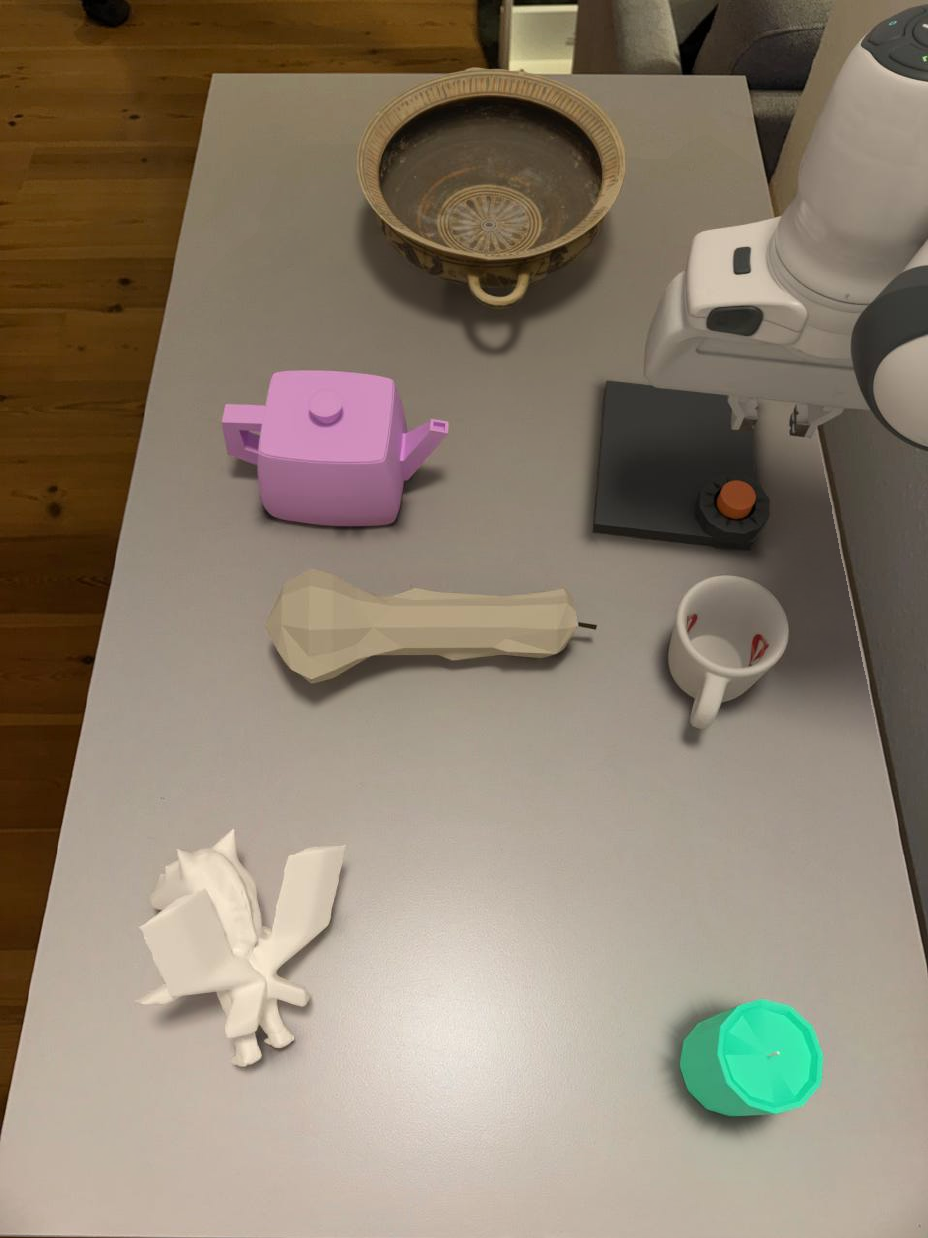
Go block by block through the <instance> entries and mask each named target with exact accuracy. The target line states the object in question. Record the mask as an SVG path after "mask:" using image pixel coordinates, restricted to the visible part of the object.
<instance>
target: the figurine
mask: <svg viewBox="0 0 928 1238" xmlns="http://www.w3.org/2000/svg"><path fill="white" fill-rule="evenodd" d="M236 842H237V841H236V834H235V828H232V829H231V830H230V831H229V832H228V833H227V834H225V835H224V836H223V837H222V838H221V839H219V840H218V841H217V842H216V843H215V844H213V845H212V846H211V847H209V848H208V847H207V848H199V849H198V850H195V851H192V853H191V852H188V851H186V850H183V849H180V848H176V854H177V860H175V861H173V862H171V863H169V864H167V865H165V866H164V873H159V877H158V881H157V884H156V887H155V888H154V890H153V891H152V893H151V895H150V896H149V903H150V906H151V907H152V908H153V909H155V910H157V911H159V910H160V912H158V913H157V914H156V915H154V916H153V917H152V918H150V919H149V920H148V921H147V922H145V923H143V924H142V925H140V926H138V930H140V931H141V932H142V934H143V938H144V942H145V943H146V946H147V947H148V949H149V951H150V953H151V956H152V961H153V963H154V964H155V966H156V967H157V970H158V974H160V977H161V978H162V979H163V983H161V984H160V985H159V986H157V987H156V988H154V989H152V990H151V991H149V992H147V993H146V994H143V995H142V996H140V997H139V998H137V999H135V1000H134V1001H133V1003H135V1004H140V1005H142V1006H153V1005H155V1006H157V1005H158V1006H163V1005H167V1004H169V1003H172V1002H174V1001H176V1000H177V999H179V998H180V997H183V996H191V995H200V994H207V993H216V995H217V998H218V1000H219V1002H220V1006H221V1007H222V1010H223V1013H224V1015H225V1018H226V1021H225V1025H224V1029H223V1030H224V1034H225V1038H227V1039H231V1040H232V1042H233V1044H234V1047H235V1049H236V1051H235V1054H234V1055H233V1056H231V1057H230V1058H229V1059H230V1060H229V1062H230V1064H231V1065H233V1066H238V1067H239V1068H240V1067H242V1068H245V1067H247V1066H248V1065H253V1064H256V1063H257V1062H258V1061H260V1060H261V1059H262V1055H263V1054H262V1051H261V1048H260V1046H259V1044H258V1039H257V1035H256V1032H257V1030H258V1029H259V1026H260V1028H261V1029H262V1030H263V1032H264V1033H265V1034H266V1035H267V1037H266V1038H265V1039H264V1040H263V1042H264V1043H265V1044H266V1045H268V1046H269V1045H270V1046H272V1047H273V1048H276V1049H282V1048H284V1047H286V1046H289V1044H291V1043H292V1042H293V1041H294V1040H295V1036H294V1034H292V1033H291V1032H290V1030H289V1029H287V1027H286V1025H285V1023H284V1021H283V1019H282V1018H281V1015H280V1012H279V1011H280V1010H279V1008H278V1000H279V1001H282V1002H285V1003H288V1004H291V1005H294V1006H297V1007H306V1005H307V1004H308V1002H309V1001H310V998H311V993H310V990H309V989H308V988H307V986H305V985H304V984H301V983H298V982H296V981H293V980H290V979H287V978H284V977H282V976H280V975H278V974H277V971H278V970H279V968H281V967H282V966H283V965H285V963H287V962H288V961H289V960H290V959H291V958H292V957H294V956H295V955H296V954H297V953H299V952H300V951H301V950H302V949H303V948H304V947H306V946H307V945H308V944H309V943H310V942H311V941H312V940H314V939H315V938H316V937H317V936H318V935H319V934H320V933H322V932H323V931H324V930H326V928H327V927H328V926H329V925H330V921H331V919H332V909H333V907H334V902H335V898H336V896H337V890H338V886H339V883H340V874H341V870H342V866H343V861H344V855H345V850H346V848H347V844H343V845H324V846H323V845H322V846H320V845H319V846H311V847H307V848H304V849H302V850H301V851H299V852H297V853H293V854H289V855H288V856H287V859H286V864H285V866H284V870H283V873H284V875H283V880H282V883H281V888H280V889H279V895H278V899H277V902H276V906H275V914H274V915H275V916H274V920H273V922H272V923H273V924H272V926H271V928H270V927H268V926H265V925H263V918H262V912H261V908H260V904H259V900H258V892H257V885H256V883H255V881H254V878H253V877H252V874H251V873H250V872H249V871H248V870H247V868H245V867H244V866H243V864H242V863H241V862H240V861H239V858H238V852H237V843H236Z"/></svg>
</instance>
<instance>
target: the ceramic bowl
mask: <svg viewBox="0 0 928 1238" xmlns="http://www.w3.org/2000/svg"><path fill="white" fill-rule="evenodd" d="M626 158H627V157H626V150H625V146H624V142H623V139H622V137H621V135H620V132H619V131H618V128H617V127H616V125H615V123H614V122H613V121H612V119H611V118H610V117H609V115H608V114H607V113H606V112H605V111H604V109H602V108H601V106H599V105H598V104H597V103H596V102H595V101H594V100H592V99H591V98H589V97H588V96H586V95H585V94H584V93H583V92H580V91H579V90H577V89H575V88H574V87H572V86H570V85H568V84H565V83H563V82H561V81H558V80H555V79H552V78H550V77H547V76H544V75H540V74H537V73H536V74H535V73H531V72H527V71H522V70H508V69H505V68H491V69H490V68H483V67H476V66H475V67H469V68H466V69H464V70H460V71H453V72H450V73H446V74H445V75H443V74H442V75H439V76H435V77H431V78H430V79H426V80H425V81H424V82H419V83H417V84H415V85H413V86H411V87H409V88H407V89H406V90H404V91H402V92H400V93H398V94H397V95H396V96H394V97H392V98H391V99H390V100H389V101H387V102H386V103H385V104H384V105H383V106H382V107H381V108H380V109H379V110H378V111H377V112H376V113H375V114H374V116H373V117H372V118H371V119H370V121H369V122H368V124H367V125H366V126H365V129H364V131H363V132H362V134H361V137H360V139H359V142H358V146H357V150H356V164H355V165H356V174H357V181H358V183H359V186H360V188H361V191H362V194H363V196H364V199H366V201H367V202H368V204H369V205H370V207H371V209H372V210H373V212H374V216H375V219H376V221H377V224H378V227H379V228H380V230H381V233H382V234H383V236H384V237H385V238H386V240H387V241H388V242H389V244H390V245H391V246H392V248H394V250H395V251H396V252H397V253H398V254H399V255H400V256H402V257H403V258H404V259H405V260H406V261H408V262H409V263H410V264H411V265H413V266H414V267H416V268H417V269H419V270H421V271H422V272H425V273H426V274H429V276H433V277H435V278H438V279H441V280H443V281H446V282H448V283H449V282H450V283H453V284H457V285H461V286H467V287H468V288H469V291H470V293H471V294H472V297H474V298H475V300H477V301H478V303H481V304H482V305H484V306H486V307H487V308H494V309H507V308H510V307H513V306H515V305H517V304H518V303H520V302H521V301H522V300H523V298H524V297H525V295H526V293H527V291H528V287H529V284H530V283H533V282H536V281H539V280H541V279H544V278H547V277H549V276H552V275H553V274H555V273H557V272H559V271H560V270H562V269H564V268H566V267H567V266H568V265H570V264H571V263H573V262H574V261H576V260H577V259H578V258H579V257H580V256H581V255H582V254H583V253H584V252H585V251H586V250H587V249H588V248H589V246H590V245H591V244H592V243H593V241H594V240H595V239H596V237H597V235H598V234H599V232H600V230H601V229H602V226H603V224H604V220H605V218H606V216H607V214H608V213H609V212H610V211H611V210H612V208H613V206H614V204H615V202H616V200H617V199H618V196H619V194H620V192H621V190H622V186H623V183H624V180H625V177H626V168H627V159H626ZM509 287H510V288H511V287H514V289H513V290H512V291H511V292H510V293H509V294H507V295H503V296H494V295H491V294H488V293H487V292H486V291H484V290H483V288H494V289H496V288H498V289H499V288H509Z"/></svg>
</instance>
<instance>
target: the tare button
mask: <svg viewBox="0 0 928 1238" xmlns="http://www.w3.org/2000/svg"><path fill="white" fill-rule="evenodd" d="M755 500H756V495H755V492H754V490H753V488H752V487H751V486H750V485H749V484H747V483H745V482H742V481H730V482H728V483H726V484H725V485H724V486H723V487H722V489H721V492H720V494H719V496H718V499H717V507H718V509H719V511H720V512H721V513H722V514H723V515H724V516H725V517H727V518H730V519H741V518H744V517H746V516H747V515H748V514H749V513H750V511H751V509H752V507H753V505H754V503H755Z"/></svg>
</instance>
